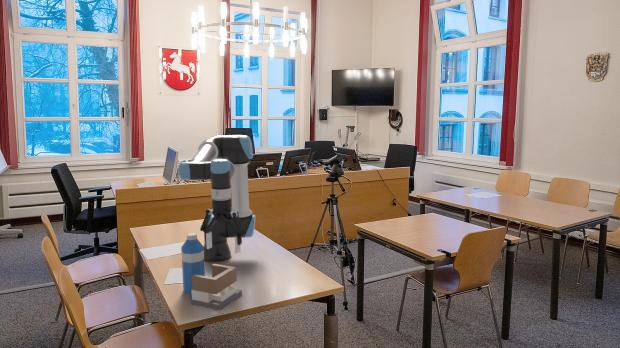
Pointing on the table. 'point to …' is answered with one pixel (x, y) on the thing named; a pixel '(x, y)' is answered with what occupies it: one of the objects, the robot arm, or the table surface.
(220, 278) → the brown open crate
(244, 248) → the table surface
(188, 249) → the water bottle
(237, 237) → the robot arm
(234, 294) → the tray of white blocks
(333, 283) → the table surface
